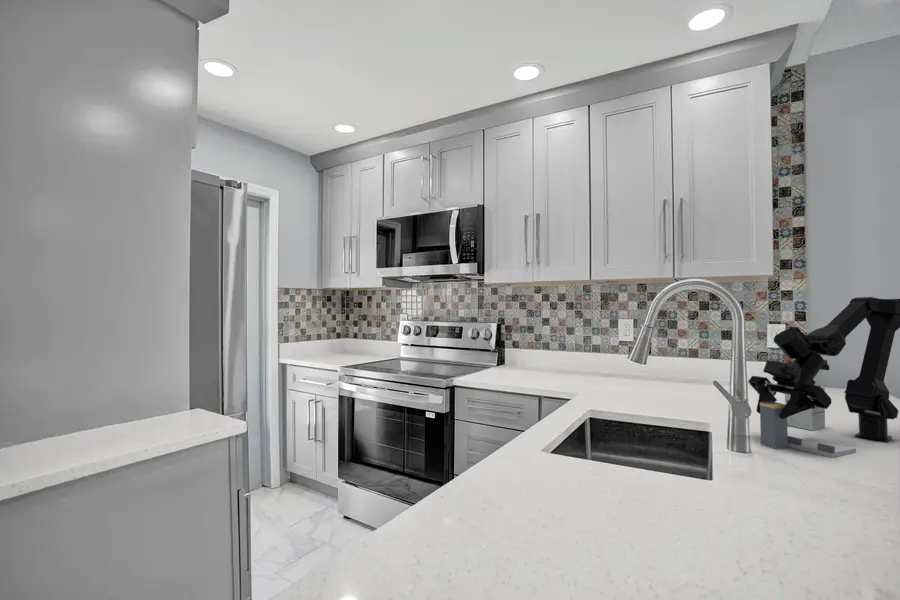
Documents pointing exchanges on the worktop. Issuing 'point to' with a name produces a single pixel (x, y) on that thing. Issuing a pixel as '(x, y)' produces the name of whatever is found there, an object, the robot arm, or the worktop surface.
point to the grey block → (773, 425)
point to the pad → (820, 447)
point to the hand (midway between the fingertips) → (769, 414)
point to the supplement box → (807, 417)
